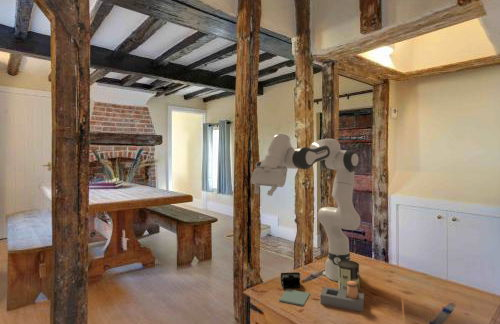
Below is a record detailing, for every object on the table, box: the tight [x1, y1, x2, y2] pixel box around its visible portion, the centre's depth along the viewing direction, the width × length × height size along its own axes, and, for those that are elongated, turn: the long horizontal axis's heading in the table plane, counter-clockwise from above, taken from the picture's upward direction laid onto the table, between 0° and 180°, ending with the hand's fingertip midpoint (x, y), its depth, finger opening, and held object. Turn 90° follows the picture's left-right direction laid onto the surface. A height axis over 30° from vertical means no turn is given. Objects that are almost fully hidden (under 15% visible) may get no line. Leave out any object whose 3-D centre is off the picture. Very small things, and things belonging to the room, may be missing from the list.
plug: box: [347, 281, 358, 299], centre depth 131 cm, size 4×4×10 cm
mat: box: [278, 289, 311, 307], centre depth 141 cm, size 12×12×1 cm
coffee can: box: [337, 260, 360, 293], centre depth 146 cm, size 10×10×14 cm
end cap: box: [280, 271, 302, 290], centre depth 154 cm, size 10×7×7 cm
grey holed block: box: [319, 286, 365, 313], centre depth 133 cm, size 9×18×5 cm, turn 64°
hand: (262, 194), depth 129 cm, fingers open, 8 cm apart
